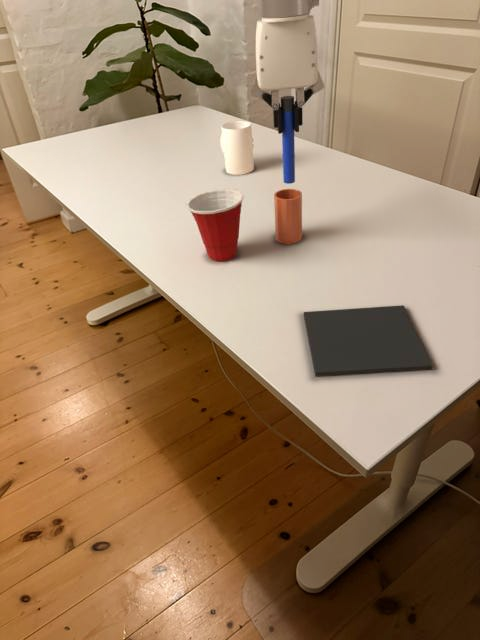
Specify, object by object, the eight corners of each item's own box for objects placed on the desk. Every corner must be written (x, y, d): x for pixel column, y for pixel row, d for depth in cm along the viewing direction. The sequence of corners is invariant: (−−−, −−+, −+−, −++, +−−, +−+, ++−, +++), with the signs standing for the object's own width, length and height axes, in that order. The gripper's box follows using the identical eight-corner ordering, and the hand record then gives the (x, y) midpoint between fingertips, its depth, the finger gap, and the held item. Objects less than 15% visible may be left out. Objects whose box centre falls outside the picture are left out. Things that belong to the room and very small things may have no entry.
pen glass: (300, 230, 98) (300, 187, 93) (303, 242, 94) (303, 198, 88) (274, 232, 99) (273, 189, 93) (276, 244, 94) (275, 200, 89)
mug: (235, 159, 137) (232, 116, 130) (260, 168, 129) (258, 124, 122) (212, 166, 134) (207, 123, 127) (236, 177, 126) (232, 131, 119)
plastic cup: (208, 238, 99) (201, 184, 92) (256, 244, 95) (252, 188, 88) (185, 264, 91) (175, 207, 84) (235, 272, 87) (229, 213, 80)
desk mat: (403, 309, 74) (403, 305, 74) (432, 369, 63) (433, 365, 63) (303, 315, 75) (303, 311, 75) (315, 376, 64) (315, 372, 64)
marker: (294, 178, 90) (293, 95, 81) (295, 183, 88) (294, 98, 79) (282, 179, 90) (280, 96, 81) (283, 184, 88) (281, 99, 79)
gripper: (333, 1, 75) (329, 121, 86) (234, 11, 75) (243, 129, 87) (341, 4, 69) (336, 132, 80) (234, 15, 69) (243, 141, 81)
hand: (288, 129), depth 83 cm, fingers closed on marker, 2 cm apart
